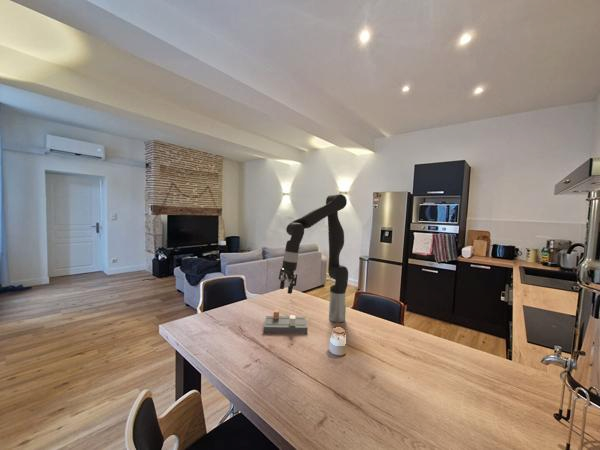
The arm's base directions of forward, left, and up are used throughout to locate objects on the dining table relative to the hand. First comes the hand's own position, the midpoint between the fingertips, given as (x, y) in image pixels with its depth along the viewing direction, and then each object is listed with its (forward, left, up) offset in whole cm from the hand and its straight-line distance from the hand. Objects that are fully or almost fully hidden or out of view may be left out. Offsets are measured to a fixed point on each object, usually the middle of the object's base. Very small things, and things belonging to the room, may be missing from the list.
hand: (285, 291), depth 131 cm
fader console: (-1, -6, -22) cm, 23 cm away
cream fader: (-4, -2, -19) cm, 19 cm away
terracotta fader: (+5, -10, -19) cm, 22 cm away
